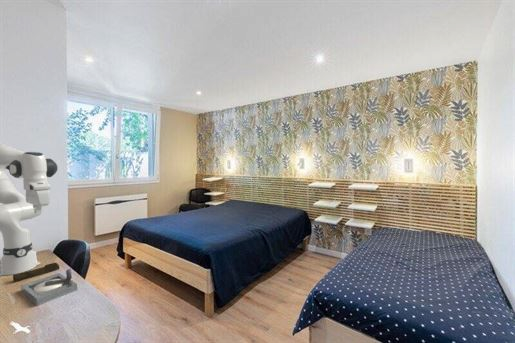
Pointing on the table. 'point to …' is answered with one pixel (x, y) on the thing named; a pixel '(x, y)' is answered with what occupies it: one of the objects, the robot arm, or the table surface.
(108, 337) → the table surface
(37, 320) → the table surface
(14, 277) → the hand tool
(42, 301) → the panel
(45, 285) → the crank
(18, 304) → the table surface
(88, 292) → the table surface
